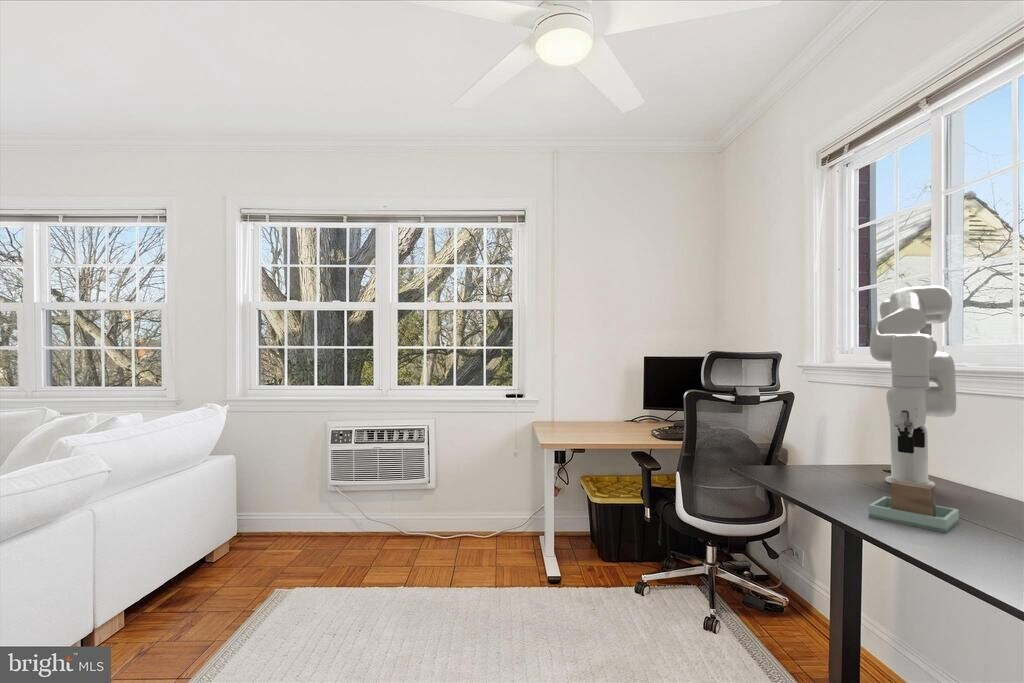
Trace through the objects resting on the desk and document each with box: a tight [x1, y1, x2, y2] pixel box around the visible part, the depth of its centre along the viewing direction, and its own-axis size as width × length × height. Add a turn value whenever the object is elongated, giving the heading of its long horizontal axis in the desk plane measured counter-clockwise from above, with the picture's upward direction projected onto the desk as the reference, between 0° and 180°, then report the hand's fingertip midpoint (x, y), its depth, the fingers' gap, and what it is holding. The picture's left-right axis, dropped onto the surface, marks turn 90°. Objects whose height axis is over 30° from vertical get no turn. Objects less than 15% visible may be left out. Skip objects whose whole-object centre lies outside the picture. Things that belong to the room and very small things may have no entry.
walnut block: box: [890, 480, 936, 517], centre depth 132 cm, size 5×8×8 cm, turn 40°
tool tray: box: [868, 495, 960, 534], centre depth 132 cm, size 13×16×3 cm
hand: (911, 449), depth 132 cm, fingers open, 9 cm apart
